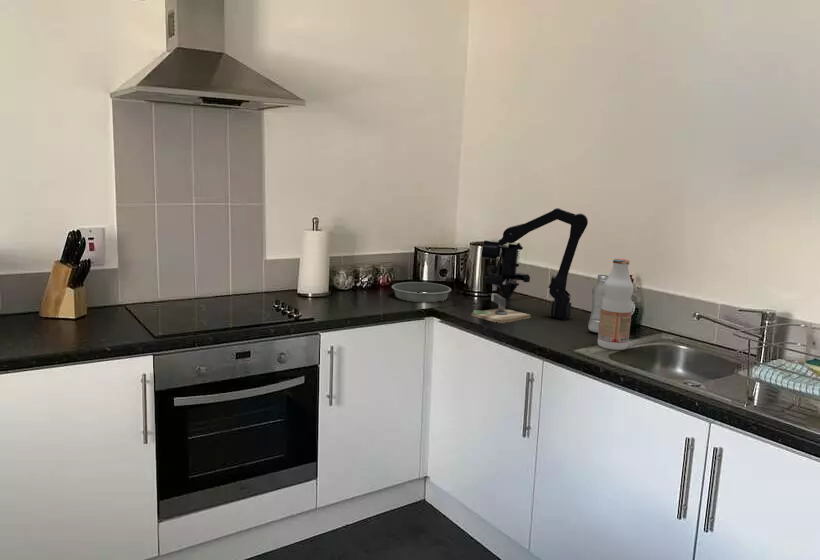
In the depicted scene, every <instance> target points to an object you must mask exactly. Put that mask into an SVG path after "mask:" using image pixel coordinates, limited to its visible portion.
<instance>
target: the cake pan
mask: <svg viewBox="0 0 820 560" xmlns="http://www.w3.org/2000/svg"><path fill="white" fill-rule="evenodd" d="M391 289H393V291H394V296H395V298H396V297H397V299H398V298H399V299H398V300H401V299H402V300H401V301H405V300H406V301H405V302H411V301H412V302H414V303H422V302H433V303H438V302H437V301H442V302H445V301H447V300H448V296H449V293H450V292H452V288H451V287H449V286H448V285H444V284H440V283H435V282H434V283H433V282H423V281H421V282H420V281H407V282H405V281H404V282H398V283H394V284H392V285H391ZM417 292H427V293H417ZM446 299H447V300H446ZM444 300H445V301H444Z"/></svg>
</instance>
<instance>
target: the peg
mask: <svg viewBox="0 0 820 560" xmlns="http://www.w3.org/2000/svg"><path fill="white" fill-rule="evenodd" d="M490 298H491V299H490V300H491V302H493V303H495V304H496V305H497V306H498V310H500V311H505V309H506V306H507V301H506V299H505V298H504V297H503V296H501V295H500V294H498V293H495V292H494V293H491V297H490Z"/></svg>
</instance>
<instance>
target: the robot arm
mask: <svg viewBox="0 0 820 560" xmlns="http://www.w3.org/2000/svg"><path fill="white" fill-rule="evenodd" d="M557 220H558V221H561V222H563V223H565V224H568V225H570V231H569V237H568V241H567V244H566V247H565V250H564V252H563V255H562V259H561V262H560V266H559V269H558V271H557V274H555V275H554V274H552V275H551V279H550V283H549V284H548V287H547V288H548V289H549V291H548V292H549V294H550V296H551V298H553V299H554V300H552V304H551V306H550V315H548V317H549V318H551V319H555V320H556V319H557V320H560V321H565V320H570V319H573V316H571V311H572V310H571V309H572V302H570V301H571V297H572V296H571V294H570V293H569V291H567V290H566V289H567V283H568V276H569V272H570V269H571V266H572V262H573V259H574V256H575V255H576V250H577V248H578V244H579V241H580V239H581V237H582V236H583V234H584V232H585V230H586V229H587V227H588V223H589V221H588V220H589V219H588V217H587V216H586V215H585V214H584V213H572V212H570V211H567V210H563V209H562V208H558V207H557V208H554V209H553V210H551V211H549V212H547V213H544V214H542V215H540V216H538V217H535V218H533V219H532V220H531V219H530V220H529V221H527V222H525V223H520V224H516V225H512V226H508V227H507V228H506V229H505V230H504V231H503V233H502V237H501V238H500V239H499V240H498V241H492V240H487V239H486V240H483V245H482V248H481V249H482V250H481V259H487V260H488V259H489V260H498V258H501V262H498V265H497V266H494V265H493V264H489V265H487V267H486V274H488V275H486V276H485V279H484V282H485V284H489V285H494V286H499V287H500V290H501V293H502V297H503V298H505V299H506V302H509V300H510V298H511V297H512V294H513V293H514V291H515V290H516V289H517V288H518V286H520V283H518V281H522V282H523V283H530V280H531V277H530V275H529V274H528V273H522V272H517V268H518V267H519V266H520V264H519V263H518V251H519V250H520V251H522V250H523V249H524V246H522V245H521V243H520V242H518V243H517V244H516V243H515V242H517V241H519V240H520V239H521V238H523V237H524V236H526V235H528V233H529V234H530V233H531V232H533V231H536V230H537V229H540V228H541V227H543V226H546V225H548V224H550V223H552V222H555V221H557ZM514 243H515V244H514ZM507 244H508V246H507Z"/></svg>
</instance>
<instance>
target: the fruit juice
mask: <svg viewBox="0 0 820 560" xmlns="http://www.w3.org/2000/svg"><path fill="white" fill-rule="evenodd" d="M612 264H613V266H612V269H611V271H610V273H609V275H608V276H609V277H608V278H607V280H606V281H605V283H604V287H603V289H604V297H603V299H602V303H601V312H600V322H599V332H598V333H597V345H598V346H599V347H601V348H603V349H607V350H615V351H622V350H626V349H628V347H629V346H628V345H629V341H630V340H629V339H630V332H631V331H630V330H631V322H632V311H633V301H632V297H633V296H632V295H633V293H634V290H635V289H634V288H635V287H634V284H633V281H632V279H631V275H630V271H629V266H630V260H629V259H625V258H613V260H612Z"/></svg>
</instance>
